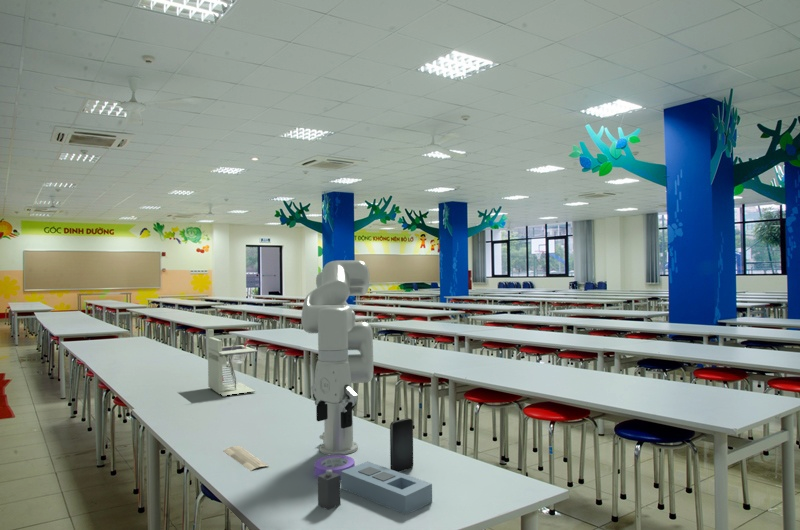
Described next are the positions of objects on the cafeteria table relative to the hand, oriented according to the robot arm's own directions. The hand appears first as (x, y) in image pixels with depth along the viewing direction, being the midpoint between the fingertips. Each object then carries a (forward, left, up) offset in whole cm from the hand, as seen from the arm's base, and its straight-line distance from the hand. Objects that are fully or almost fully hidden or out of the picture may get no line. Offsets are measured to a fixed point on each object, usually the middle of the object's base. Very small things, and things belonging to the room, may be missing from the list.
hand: (334, 423), depth 135 cm
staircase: (-145, +53, -21) cm, 156 cm away
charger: (-1, -1, -21) cm, 21 cm away
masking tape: (-17, +14, -21) cm, 30 cm away
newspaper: (-48, +2, -22) cm, 53 cm away
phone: (-4, +29, -21) cm, 36 cm away
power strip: (+5, +13, -21) cm, 25 cm away
